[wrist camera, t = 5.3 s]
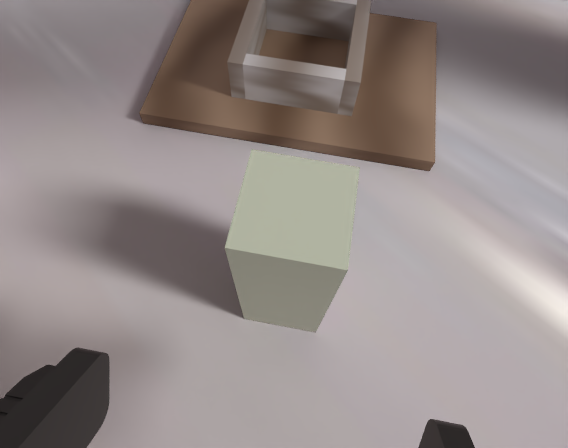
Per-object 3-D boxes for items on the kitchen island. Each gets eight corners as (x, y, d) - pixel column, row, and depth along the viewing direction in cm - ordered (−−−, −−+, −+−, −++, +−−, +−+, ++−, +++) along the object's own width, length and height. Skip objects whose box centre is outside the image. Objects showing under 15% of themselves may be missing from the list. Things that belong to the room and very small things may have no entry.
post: (325, 264, 23) (359, 167, 14) (315, 332, 21) (347, 270, 12) (259, 252, 23) (251, 149, 14) (244, 318, 21) (224, 247, 13)
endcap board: (431, 33, 32) (451, -14, 29) (429, 171, 26) (454, 131, 23) (198, -1, 34) (190, -51, 30) (143, 123, 27) (124, 78, 24)
